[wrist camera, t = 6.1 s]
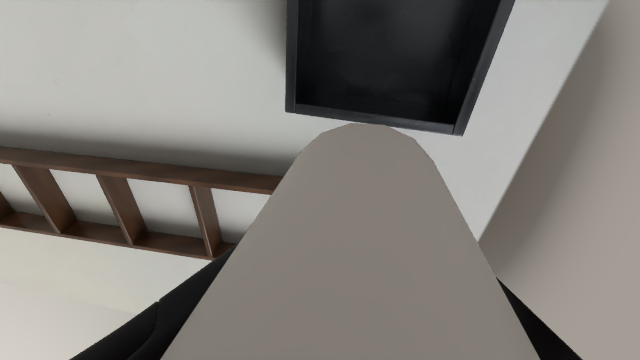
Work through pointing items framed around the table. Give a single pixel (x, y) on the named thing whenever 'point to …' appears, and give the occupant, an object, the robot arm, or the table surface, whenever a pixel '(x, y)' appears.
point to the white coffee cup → (356, 267)
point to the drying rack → (123, 200)
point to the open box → (391, 60)
